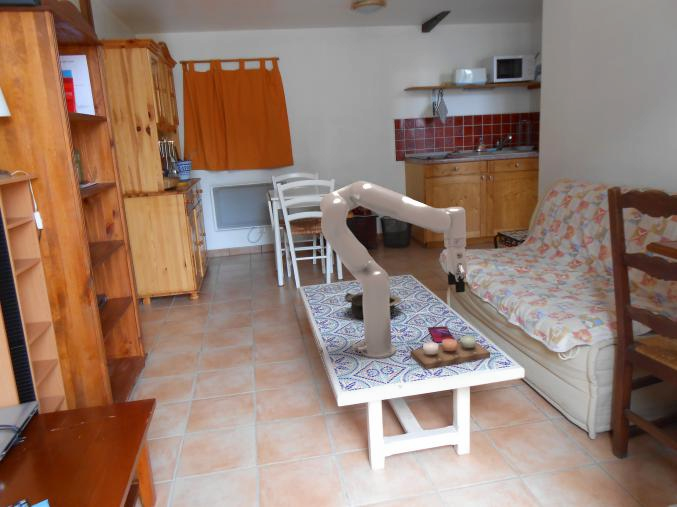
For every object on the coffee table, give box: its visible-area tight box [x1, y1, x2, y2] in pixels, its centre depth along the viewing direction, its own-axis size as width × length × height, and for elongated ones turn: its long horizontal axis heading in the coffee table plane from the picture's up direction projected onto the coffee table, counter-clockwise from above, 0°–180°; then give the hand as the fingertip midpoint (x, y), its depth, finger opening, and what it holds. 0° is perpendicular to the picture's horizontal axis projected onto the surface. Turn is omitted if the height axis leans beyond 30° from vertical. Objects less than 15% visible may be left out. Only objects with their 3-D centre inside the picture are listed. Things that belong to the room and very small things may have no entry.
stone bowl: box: [343, 292, 403, 319], centre depth 222 cm, size 25×25×9 cm
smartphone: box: [427, 325, 454, 344], centre depth 194 cm, size 8×1×15 cm
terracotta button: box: [441, 338, 458, 351], centre depth 173 cm, size 5×5×2 cm
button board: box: [410, 341, 491, 371], centre depth 174 cm, size 24×12×2 cm, turn 105°
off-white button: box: [422, 341, 439, 355], centre depth 172 cm, size 5×5×2 cm
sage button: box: [459, 335, 476, 348], centre depth 175 cm, size 5×5×2 cm
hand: (456, 288), depth 183 cm, fingers open, 9 cm apart
